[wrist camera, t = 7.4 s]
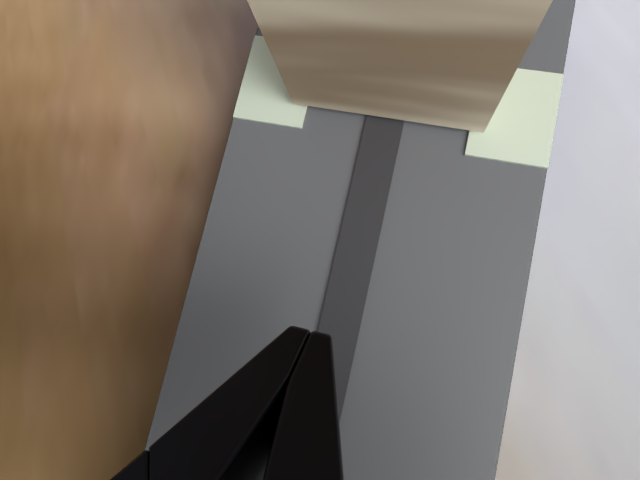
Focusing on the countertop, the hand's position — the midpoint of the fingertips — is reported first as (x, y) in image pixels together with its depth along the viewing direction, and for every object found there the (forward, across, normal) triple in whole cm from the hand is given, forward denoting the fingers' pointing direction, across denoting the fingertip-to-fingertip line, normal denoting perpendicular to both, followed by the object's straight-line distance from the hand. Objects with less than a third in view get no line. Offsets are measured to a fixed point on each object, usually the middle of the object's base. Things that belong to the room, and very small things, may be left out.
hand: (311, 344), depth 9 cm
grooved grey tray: (+6, 0, +4) cm, 7 cm away
